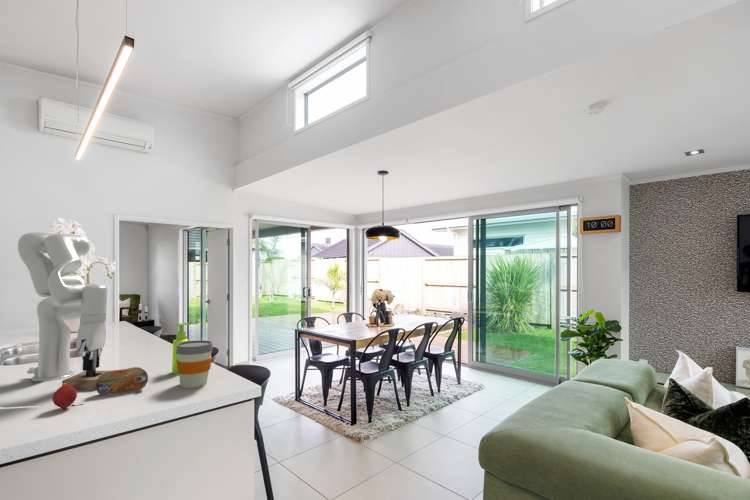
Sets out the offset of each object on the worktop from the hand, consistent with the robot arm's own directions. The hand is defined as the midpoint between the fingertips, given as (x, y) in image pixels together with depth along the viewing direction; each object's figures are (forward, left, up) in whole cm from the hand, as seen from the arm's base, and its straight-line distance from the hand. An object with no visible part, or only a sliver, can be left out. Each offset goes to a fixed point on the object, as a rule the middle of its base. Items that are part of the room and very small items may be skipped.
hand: (91, 368), depth 139 cm
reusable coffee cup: (+36, -1, -7) cm, 37 cm away
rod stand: (0, 0, -6) cm, 6 cm away
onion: (+6, -23, -7) cm, 24 cm away
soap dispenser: (+25, +17, -7) cm, 31 cm away
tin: (+15, -9, -7) cm, 19 cm away
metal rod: (0, 0, -5) cm, 5 cm away
